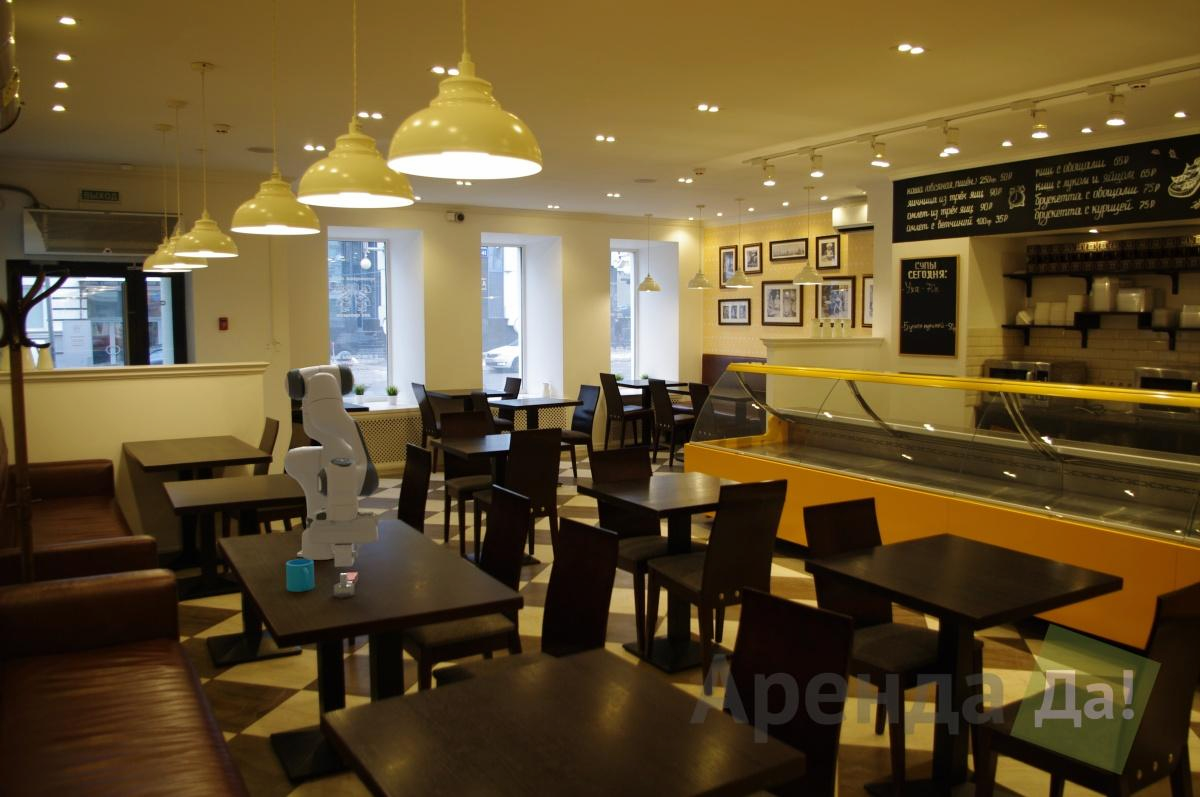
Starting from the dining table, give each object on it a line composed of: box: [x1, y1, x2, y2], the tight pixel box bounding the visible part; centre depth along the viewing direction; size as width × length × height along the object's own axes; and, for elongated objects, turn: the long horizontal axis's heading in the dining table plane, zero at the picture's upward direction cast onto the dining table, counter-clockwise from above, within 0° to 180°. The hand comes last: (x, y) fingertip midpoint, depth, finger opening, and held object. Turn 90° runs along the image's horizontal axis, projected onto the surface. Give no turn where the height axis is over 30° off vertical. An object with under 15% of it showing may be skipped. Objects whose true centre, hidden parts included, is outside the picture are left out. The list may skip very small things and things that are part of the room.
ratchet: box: [333, 571, 359, 599], centre depth 278 cm, size 18×6×6 cm, turn 6°
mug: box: [285, 558, 315, 593], centre depth 277 cm, size 12×8×8 cm
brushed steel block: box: [334, 543, 355, 568], centre depth 271 cm, size 5×5×6 cm
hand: (344, 557), depth 271 cm, fingers closed on brushed steel block, 5 cm apart
